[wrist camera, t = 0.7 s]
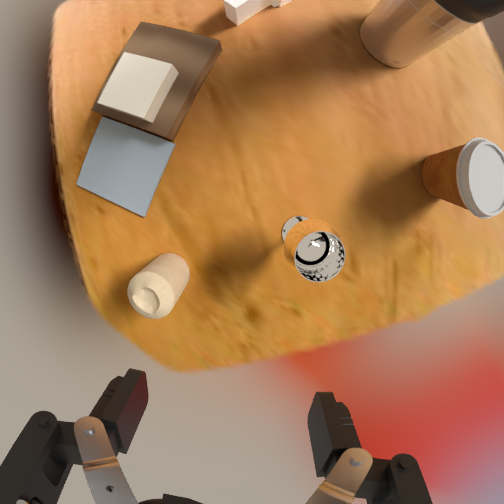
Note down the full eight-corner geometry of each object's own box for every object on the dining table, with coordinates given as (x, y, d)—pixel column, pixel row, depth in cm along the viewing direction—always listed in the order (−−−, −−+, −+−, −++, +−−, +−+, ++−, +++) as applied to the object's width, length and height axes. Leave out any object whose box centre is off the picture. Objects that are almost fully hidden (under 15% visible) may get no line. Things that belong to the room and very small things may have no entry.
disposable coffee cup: (447, 219, 36) (500, 234, 24) (402, 188, 35) (455, 194, 23) (466, 165, 34) (519, 166, 22) (423, 131, 33) (476, 120, 21)
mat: (103, 117, 33) (102, 116, 32) (175, 144, 34) (174, 143, 33) (77, 184, 35) (76, 184, 34) (145, 216, 36) (144, 217, 36)
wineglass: (275, 254, 37) (285, 287, 26) (278, 209, 36) (290, 222, 24) (319, 256, 37) (346, 288, 26) (323, 212, 36) (354, 226, 24)
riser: (147, 30, 30) (141, 21, 27) (222, 50, 31) (219, 40, 28) (101, 114, 33) (91, 110, 30) (173, 140, 34) (166, 137, 31)
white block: (133, 60, 28) (124, 52, 25) (178, 73, 29) (172, 64, 26) (108, 107, 30) (97, 102, 27) (152, 123, 30) (143, 118, 27)
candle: (147, 281, 38) (117, 311, 28) (158, 245, 37) (128, 267, 27) (182, 297, 39) (162, 332, 29) (196, 262, 37) (177, 289, 28)
